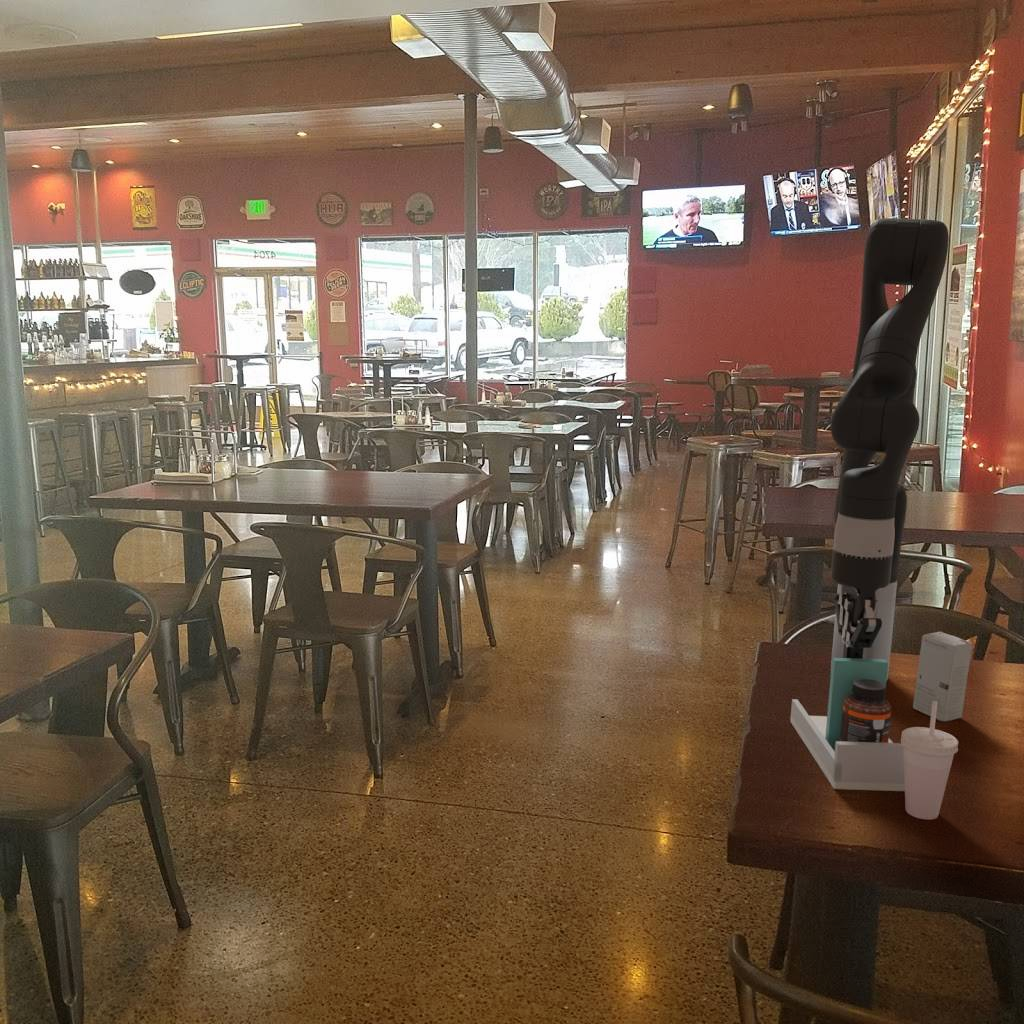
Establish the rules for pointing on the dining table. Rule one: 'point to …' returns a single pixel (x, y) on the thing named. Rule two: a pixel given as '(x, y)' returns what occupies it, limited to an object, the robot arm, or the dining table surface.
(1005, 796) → the dining table surface
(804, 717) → the lane
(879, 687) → the supplement bottle
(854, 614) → the robot arm
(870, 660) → the pusher
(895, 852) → the dining table surface
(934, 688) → the skincare box
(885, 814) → the dining table surface
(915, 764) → the smoothie
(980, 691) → the dining table surface
